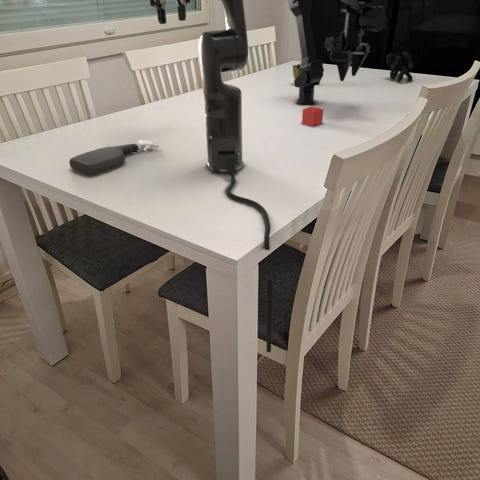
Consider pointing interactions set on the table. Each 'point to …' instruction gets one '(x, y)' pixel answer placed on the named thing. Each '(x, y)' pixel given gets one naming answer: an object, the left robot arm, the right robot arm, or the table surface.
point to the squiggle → (399, 66)
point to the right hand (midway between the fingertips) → (347, 78)
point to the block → (312, 116)
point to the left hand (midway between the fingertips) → (172, 22)
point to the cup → (296, 71)
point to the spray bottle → (106, 157)
